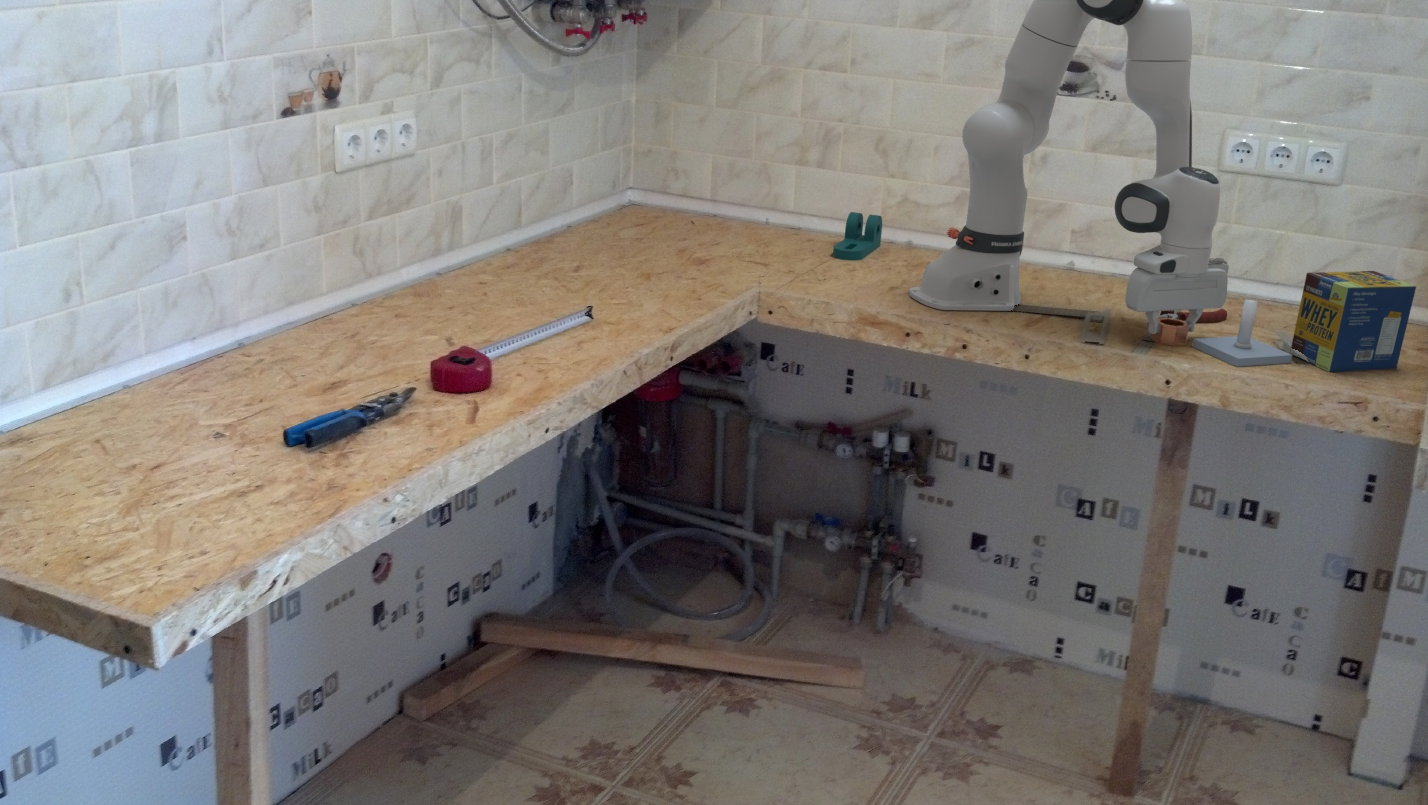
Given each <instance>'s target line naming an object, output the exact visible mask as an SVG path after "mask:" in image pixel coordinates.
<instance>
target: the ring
mask: <svg viewBox="0 0 1428 805" xmlns="http://www.w3.org/2000/svg"><path fill="white" fill-rule="evenodd" d="M1156 318H1157V317H1156ZM1157 322H1158V324H1160V325H1162V327H1161V332H1160V334H1151V341H1154V342H1155V343H1158V344H1160V345H1167V346H1172V347H1173V346H1174V347H1175V346H1177V347H1178V346H1180V347H1181V346H1185V345H1186V344H1187V341H1188V336H1189V332H1188V331H1189V326H1190V324H1189V323H1187V322H1185V321H1182V320H1178V319H1172V318H1157Z"/></svg>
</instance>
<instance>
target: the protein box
mask: <svg viewBox="0 0 1428 805" xmlns="http://www.w3.org/2000/svg"><path fill="white" fill-rule="evenodd" d="M1416 290H1417V286H1416V285H1414V284H1411V283H1409V282H1405V281H1403V280H1399V279H1397V278H1394V277H1393V276H1389V275H1386V274H1383V273H1380V272H1378V271H1375V270H1362V271H1359V270H1357V271H1356V270H1355V271H1328V272H1327V271H1326V272H1325V271H1324V272H1323V271H1322V272H1306V276H1305V280H1304V285H1303V290H1302V294H1301V300H1300V304H1299V309H1298V314H1297V317H1296V318H1297V319H1296V323H1295V327H1294V332H1293V337H1292V341H1291V347H1290V349H1291V348H1292V349H1295V350H1298V351H1299V352H1301V353H1302V354H1304V355H1305V356H1306V357H1307V360H1308V361H1309V363H1308V364H1310V365H1313V366H1315V367H1318V368H1319V369H1322V370H1324V371H1325V372H1329V373H1331V372H1332V373H1333V372H1334V373H1337V372H1355V371H1356V372H1357V371H1373V370H1375V371H1376V370H1395V369H1397V368H1398V363H1399V360H1400V356H1401V355H1400V354H1401V350H1402V347H1403V342H1404V339H1405V334H1406V331H1407V327H1408V323H1409V319H1410V314H1411V310H1412V306H1413V302H1414V299H1415V298H1414V297H1415V294H1416Z"/></svg>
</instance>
